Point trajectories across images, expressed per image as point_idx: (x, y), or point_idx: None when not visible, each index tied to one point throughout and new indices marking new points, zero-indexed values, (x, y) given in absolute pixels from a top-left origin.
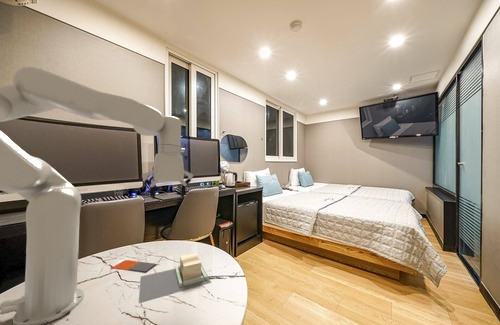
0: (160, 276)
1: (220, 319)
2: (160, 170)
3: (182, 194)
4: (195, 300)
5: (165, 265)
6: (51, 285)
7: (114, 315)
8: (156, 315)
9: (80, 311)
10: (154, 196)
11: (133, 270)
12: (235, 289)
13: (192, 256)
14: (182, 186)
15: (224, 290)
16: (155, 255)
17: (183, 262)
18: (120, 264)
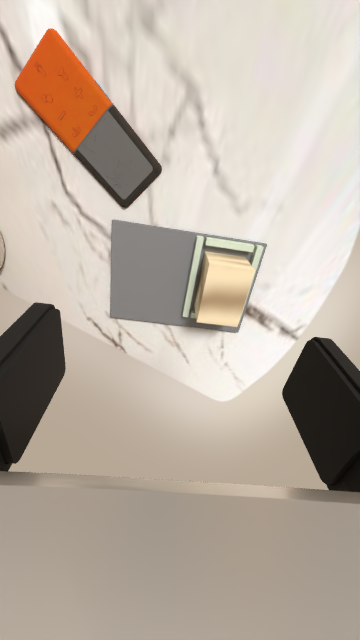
0: (156, 251)
1: (205, 393)
2: None
3: (292, 412)
4: (194, 352)
5: (182, 184)
6: None
7: (76, 318)
8: (135, 349)
9: (16, 277)
10: (55, 383)
11: (91, 168)
12: (260, 363)
13: (236, 285)
14: (337, 484)
15: (244, 356)
16: (168, 52)
17: (203, 304)
18: (40, 77)
